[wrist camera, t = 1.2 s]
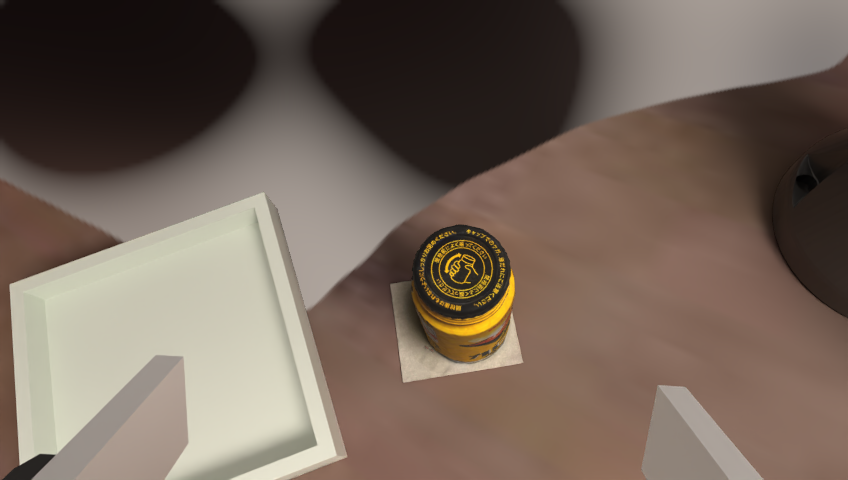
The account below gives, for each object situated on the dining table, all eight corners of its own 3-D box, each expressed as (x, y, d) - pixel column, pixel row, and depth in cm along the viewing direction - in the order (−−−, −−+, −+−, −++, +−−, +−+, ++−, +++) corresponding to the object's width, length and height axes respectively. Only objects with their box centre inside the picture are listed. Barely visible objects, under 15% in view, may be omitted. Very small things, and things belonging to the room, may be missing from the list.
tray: (277, 209, 46) (263, 191, 43) (347, 457, 38) (336, 455, 35) (38, 296, 45) (9, 284, 42) (60, 568, 37) (25, 576, 34)
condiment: (522, 363, 39) (538, 319, 28) (403, 383, 40) (372, 347, 29) (502, 266, 42) (508, 192, 31) (390, 285, 42) (358, 218, 31)
